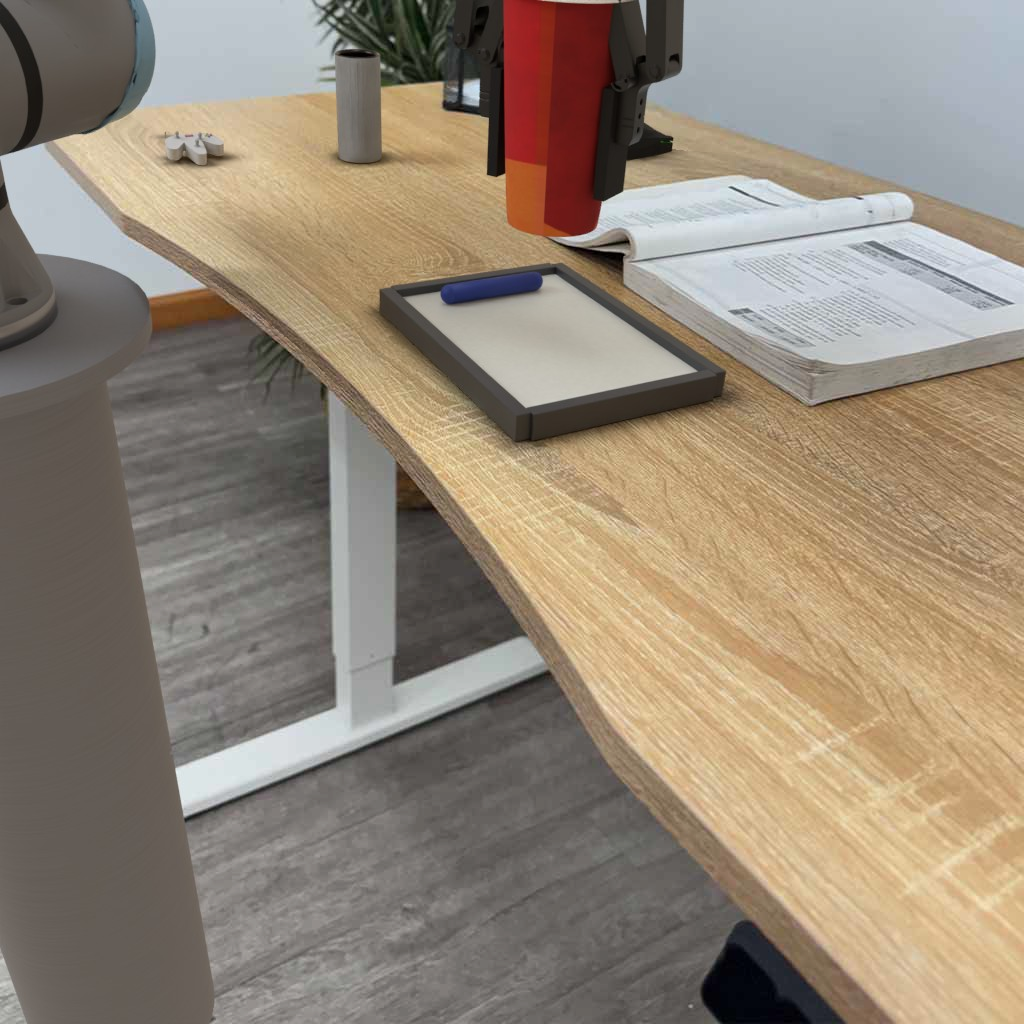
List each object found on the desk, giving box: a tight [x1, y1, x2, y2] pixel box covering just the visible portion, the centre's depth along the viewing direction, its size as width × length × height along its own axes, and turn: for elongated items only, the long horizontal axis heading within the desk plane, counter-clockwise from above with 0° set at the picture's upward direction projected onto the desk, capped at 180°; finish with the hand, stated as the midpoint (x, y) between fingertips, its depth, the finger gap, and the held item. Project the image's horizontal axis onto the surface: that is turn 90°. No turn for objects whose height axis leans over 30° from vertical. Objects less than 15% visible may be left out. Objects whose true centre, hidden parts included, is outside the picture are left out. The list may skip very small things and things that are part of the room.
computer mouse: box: [627, 122, 675, 161], centre depth 119 cm, size 11×16×4 cm
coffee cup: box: [504, 0, 634, 238], centre depth 65 cm, size 8×8×15 cm
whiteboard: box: [378, 262, 727, 443], centre depth 73 cm, size 22×16×3 cm
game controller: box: [164, 130, 225, 166], centre depth 109 cm, size 6×12×3 cm, turn 51°
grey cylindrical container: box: [334, 48, 383, 164], centre depth 109 cm, size 4×4×10 cm
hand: (554, 182), depth 68 cm, fingers closed on coffee cup, 7 cm apart
